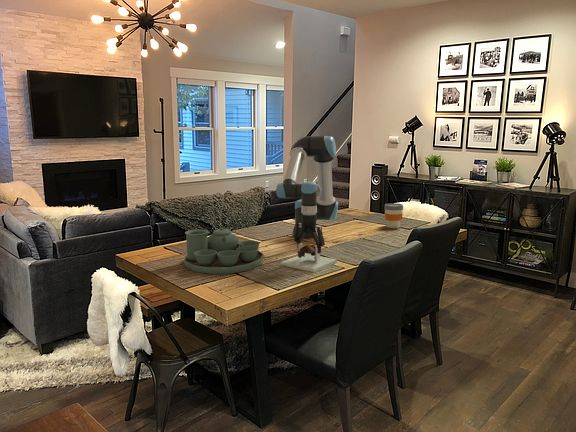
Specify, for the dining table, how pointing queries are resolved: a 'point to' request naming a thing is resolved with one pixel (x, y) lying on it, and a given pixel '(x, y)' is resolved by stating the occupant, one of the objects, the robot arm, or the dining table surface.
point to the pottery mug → (307, 251)
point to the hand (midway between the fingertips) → (309, 257)
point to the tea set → (220, 252)
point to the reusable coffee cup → (393, 215)
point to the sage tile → (309, 263)
